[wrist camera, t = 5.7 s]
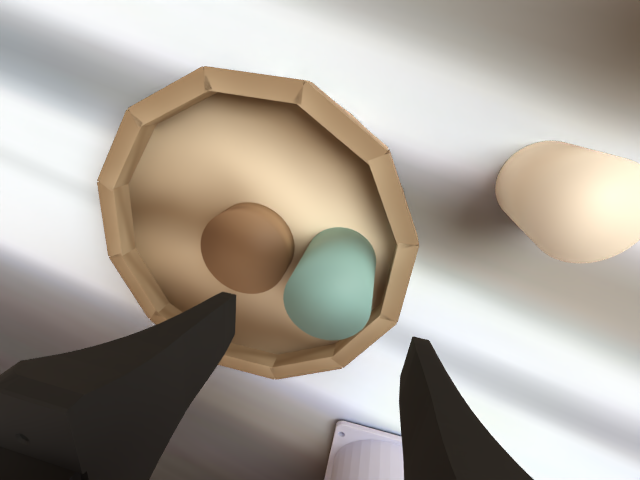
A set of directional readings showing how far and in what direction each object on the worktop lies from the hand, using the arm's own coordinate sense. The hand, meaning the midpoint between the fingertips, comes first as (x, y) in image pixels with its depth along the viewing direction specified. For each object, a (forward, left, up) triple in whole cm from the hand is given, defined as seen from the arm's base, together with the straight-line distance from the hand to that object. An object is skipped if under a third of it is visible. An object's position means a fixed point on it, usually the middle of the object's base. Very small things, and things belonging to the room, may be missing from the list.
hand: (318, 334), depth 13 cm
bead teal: (0, 0, -6) cm, 6 cm away
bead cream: (+6, -9, -7) cm, 13 cm away
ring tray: (0, +5, -7) cm, 9 cm away
